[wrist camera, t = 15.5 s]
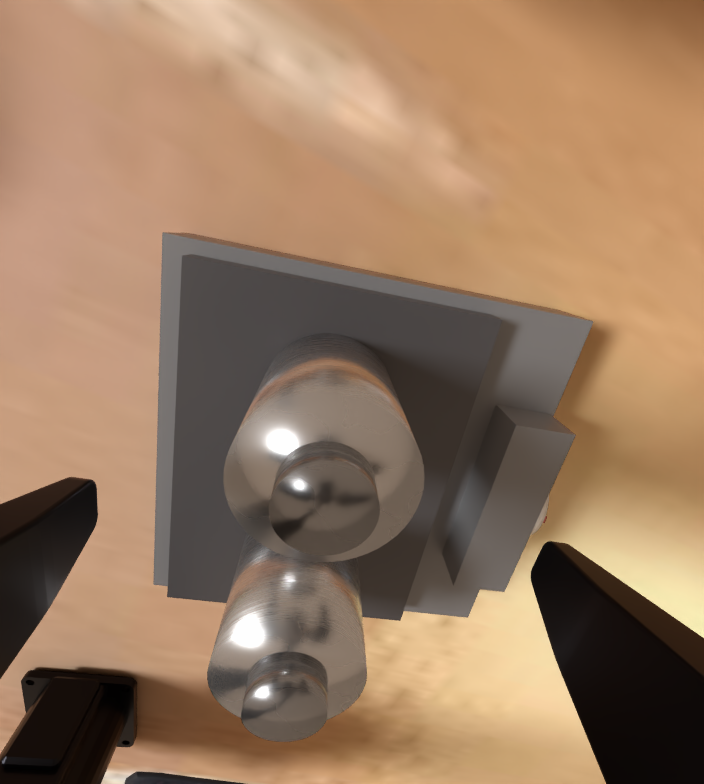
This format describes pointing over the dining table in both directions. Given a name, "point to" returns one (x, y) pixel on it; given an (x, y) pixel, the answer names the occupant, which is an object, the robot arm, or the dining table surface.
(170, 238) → the scale
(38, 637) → the dining table surface
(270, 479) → the weight
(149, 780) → the wallet
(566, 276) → the dining table surface
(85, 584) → the dining table surface
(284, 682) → the weight
